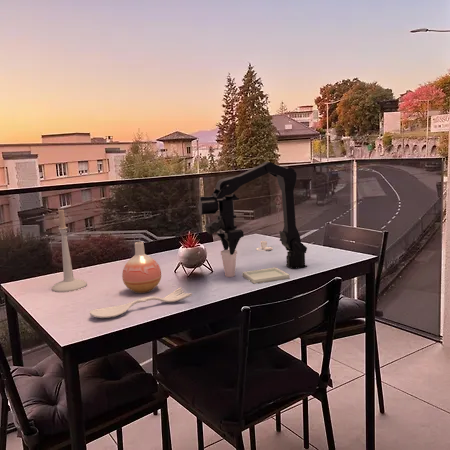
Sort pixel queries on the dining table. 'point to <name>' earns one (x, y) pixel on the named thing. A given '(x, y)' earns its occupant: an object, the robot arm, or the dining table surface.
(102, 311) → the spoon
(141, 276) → the vase
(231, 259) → the smoothie
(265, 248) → the teacup and saucer
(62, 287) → the candlestick
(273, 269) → the tray
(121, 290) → the dining table surface
